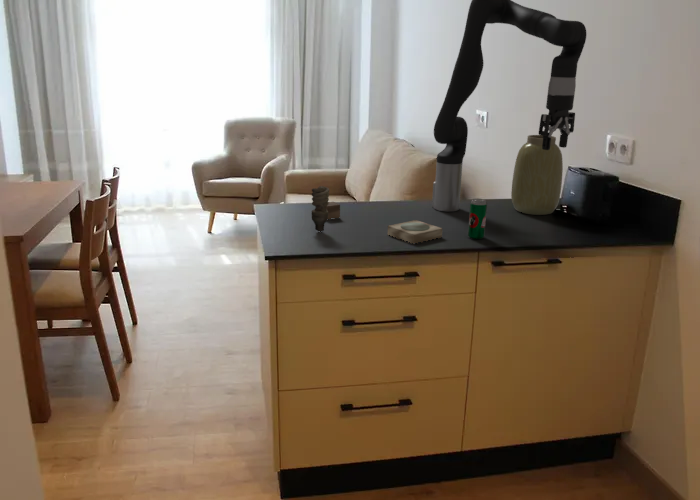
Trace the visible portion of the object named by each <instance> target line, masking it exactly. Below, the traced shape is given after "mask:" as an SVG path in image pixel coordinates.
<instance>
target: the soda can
mask: <svg viewBox="0 0 700 500" xmlns="http://www.w3.org/2000/svg"><path fill="white" fill-rule="evenodd" d="M487 210H488V203H487V199H485V198H472V199H471V201H470V203H469V213H468V214H469V215H468V218H469V219H468V227H467V228H468V229H467V236H468V238H470V239H471V238H472V239H471V240H482V239H483V238H485V232H486V219H487Z"/></svg>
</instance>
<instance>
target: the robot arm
mask: <svg viewBox="0 0 700 500" xmlns="http://www.w3.org/2000/svg"><path fill="white" fill-rule="evenodd" d="M470 1H471V2H470V5H469V8H468V12H467V15H466V23H465V27H464V32H463V36H462V41H461V45H460V47H459V52H458V55H457V58H456V61H455V63H454V67H453V72H452V75H451V78H450V83H449V85H448V88H447V92H446V94H445V97H444V101H443V103H442V106H441V108H440V110H439V112H438V115H437V117H436V120H435V122H434V126H433V137H434V140H435V141H436V142H437V143H438V144H441V145H445V147H444V149H442V150H441V151H439V152H438V153H437V155H436V166H435V167H436V168H435V169H436V170H435V181H433V185H432V201H431V202H432V204H431V207H432V208H433V209H434V210H436V211H440V212H457V211H459V210H460V204H461V203H460V202H461V201H460V200H461V189H462V179H463V178H462V175H463V162H464V161H463V160H464V157H465V155H466V152H467V151H466V150H467V142H468V132H469V131H468V130H469V129H468V128H469V127H468V123H467V121H466V119H464V118H463V117H462V116H458V115H459V112H460V109H461V108H462V107H463V105H464V104H465V102H467V100H468V99H469V97H470V96H471V95H472V94H473V92H474V91H475V90H476V88H477V87H478V85H479V81H480V79H481V75H482V73H483V69H484V56H483V55H484V54H483V49H482V38H483V33H484V31H485V28H486V25H487V24H491V25H494V24H506V25H511V26H514V27H516V28H517V29H519V30H521V31H522V32H523V33H525V34H528V35H529V36H533V37H536V38H539V39H542V40H544V41H546V43H549V44H551V45H553V46H557V47H562V50H561V52H560V54H559V55H556V56H555V57H553V59H552V63H551V69H550V77H549V82H548V87H547V88H548V89H547V96H546V104H545V109H547V110H548V114H545V113H544V114H543V113H542V114H541V116H540V120H539V126H538V127H539V128H538V135H542V136H543V143H542V149H543V150H549V149H550V144H551V138H550V137H551V136H553V133H554V132H556V131H557V129H558V130H559V132H560V134H559V135H560V136H559V142H558V147H559V148H563V149H564V148H567V146H568V139H569V135H570V134H571V133H573V132H574V128H575V122H576V121H575V119H576V112H572V110H573V108H574V100H575V93H576V85H577V84H576V82H577V81H576V78H577V70H578V63H579V60H580V58H581V55H582V52H583V49H584V47H585V44H586V41H587V28H586V26H585V24H584V23H583V22H582V21H578V20H565V19H560V18H557V17H556V16H554V15H553V14H551V13H548V12H545V11H541V10H539V9H534V8H532V7H527V6H524V5H521V4H519V3H517V2H516V1H515V2H514V1H513V0H470ZM570 111H571V112H570Z"/></svg>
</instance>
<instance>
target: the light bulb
mask: <svg viewBox="0 0 700 500" xmlns="http://www.w3.org/2000/svg"><path fill="white" fill-rule="evenodd" d="M311 192H312V193H311V196H312V198H311V201H312V202H311V205H312V206H314V209H313V210H311V220H312V221H313V223H314V229H315V230H316V231H317V232H318V231H320V232H321V231H322V232H324V231H325V225H326V222H327V221H328V220H327V219H328V211H327V210H326V209H325V207H326V206H327V205H328V204H329V203H328V202H329V200H330V199H329V196H330V188H329V187H327V186H324V185H320V186H318V187H317V188H312V189H311ZM322 232H321V233H322Z"/></svg>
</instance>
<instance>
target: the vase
mask: <svg viewBox="0 0 700 500" xmlns="http://www.w3.org/2000/svg"><path fill="white" fill-rule="evenodd" d="M550 138H551V144H550V149H549V150H543V149H542V143H543V136H542V135H539V134H529V135H527V138H526V139H527V140H526V142H525V143H524V144H523V145H522V146H521V147H520V149H519V151H518V152H517V156H516V159H515V164H514V169H513V174H512V181H511V182H512V184H511V191H510V192H511V193H510V194H511V196H510V197H511V202H512V205H513V208H514V209H515V210H516V211H517V212H519V213H521V212H522V213H521V214H527V215H533V216H534V215H536V216H541V215H543V216H545V215H550V214H552V213H554V212H555V210H556V209H557V207H558V205H559V202H560V198H561V192H562V184H563V174H564V173H563V170H564V169H563V167H564V166H563V163H564V162H563V161H564V160H563V154H562V151H561V148H560V147H559V145H557V144H556V140H557V138H556V136H554V135H551V137H550Z"/></svg>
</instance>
